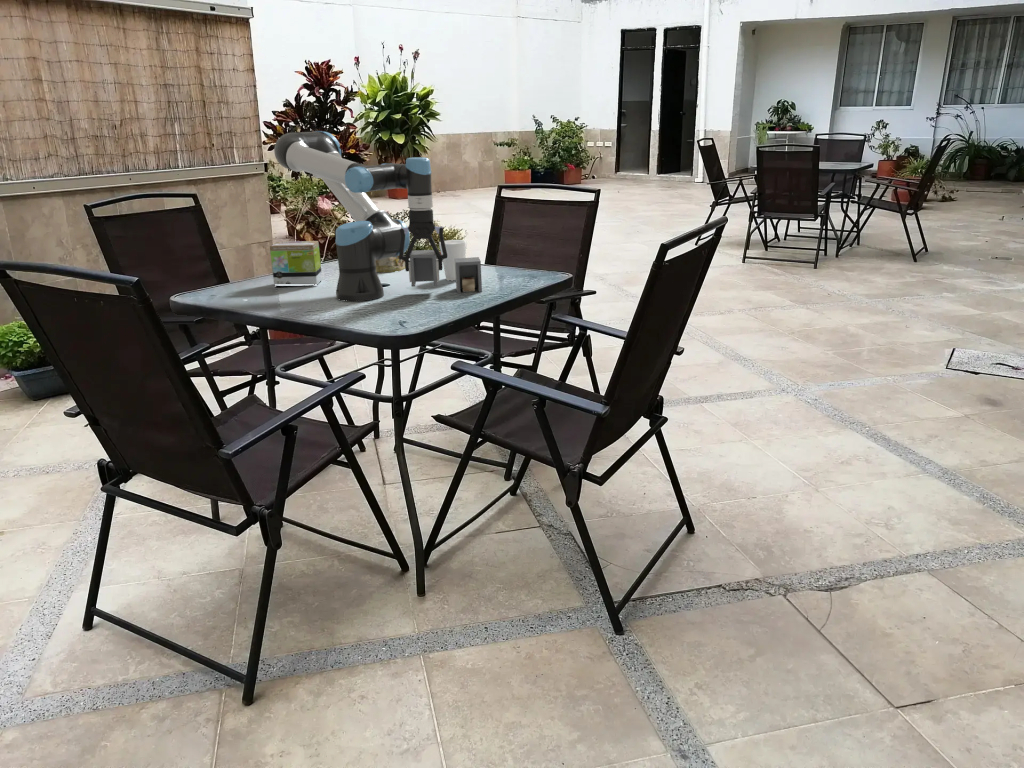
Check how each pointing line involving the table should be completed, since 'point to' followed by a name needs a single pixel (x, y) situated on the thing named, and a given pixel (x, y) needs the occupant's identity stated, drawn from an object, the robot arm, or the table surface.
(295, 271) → the tea box
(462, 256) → the foam cup
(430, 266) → the near cover
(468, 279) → the letter cube
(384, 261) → the ceramic model
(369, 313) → the table surface
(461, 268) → the far cover
